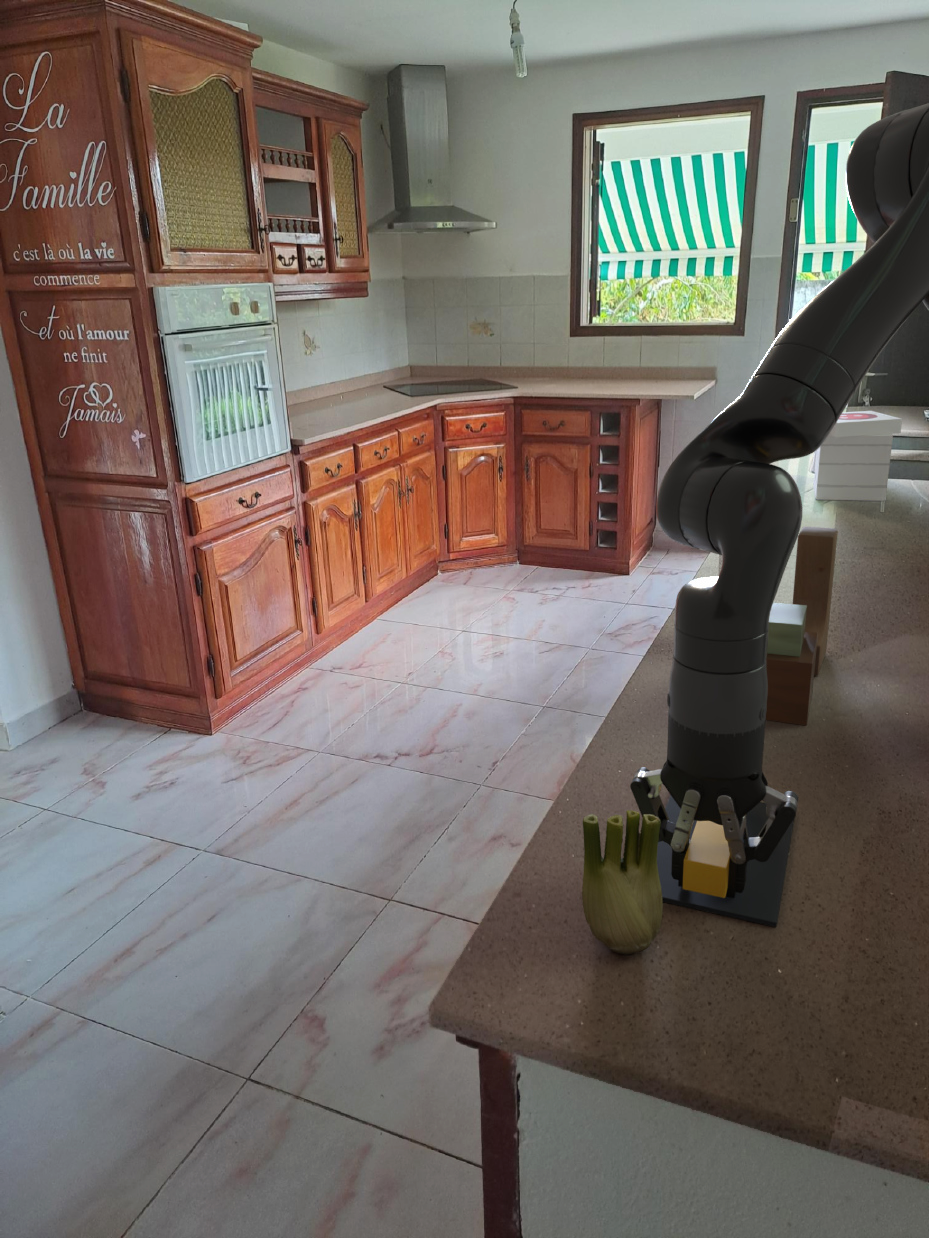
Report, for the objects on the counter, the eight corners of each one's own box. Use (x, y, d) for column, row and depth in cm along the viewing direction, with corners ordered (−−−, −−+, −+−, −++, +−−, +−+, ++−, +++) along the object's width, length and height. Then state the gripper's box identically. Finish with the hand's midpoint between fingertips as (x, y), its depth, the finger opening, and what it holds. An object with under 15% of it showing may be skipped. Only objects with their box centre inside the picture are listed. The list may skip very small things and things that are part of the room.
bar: (717, 783, 90) (718, 757, 89) (752, 789, 88) (754, 762, 87) (682, 889, 74) (683, 859, 73) (725, 898, 73) (726, 868, 72)
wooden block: (818, 677, 116) (830, 545, 109) (782, 672, 118) (792, 543, 111) (826, 652, 123) (838, 527, 117) (792, 648, 125) (802, 525, 119)
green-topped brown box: (731, 681, 116) (736, 595, 112) (812, 690, 112) (820, 602, 108) (719, 713, 108) (724, 622, 103) (806, 725, 104) (815, 631, 99)
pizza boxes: (881, 476, 225) (889, 404, 219) (895, 503, 198) (905, 422, 192) (801, 475, 231) (807, 405, 225) (805, 501, 204) (811, 422, 198)
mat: (673, 790, 92) (673, 786, 92) (795, 812, 87) (795, 807, 87) (631, 895, 77) (631, 890, 77) (776, 927, 72) (776, 922, 72)
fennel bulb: (577, 946, 71) (576, 819, 67) (602, 910, 75) (602, 788, 71) (646, 970, 68) (649, 840, 64) (667, 932, 72) (671, 806, 68)
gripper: (814, 700, 71) (797, 878, 77) (640, 678, 76) (637, 846, 82) (807, 743, 64) (790, 934, 70) (617, 716, 70) (616, 895, 76)
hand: (707, 885), depth 76 cm, fingers closed on bar, 3 cm apart
